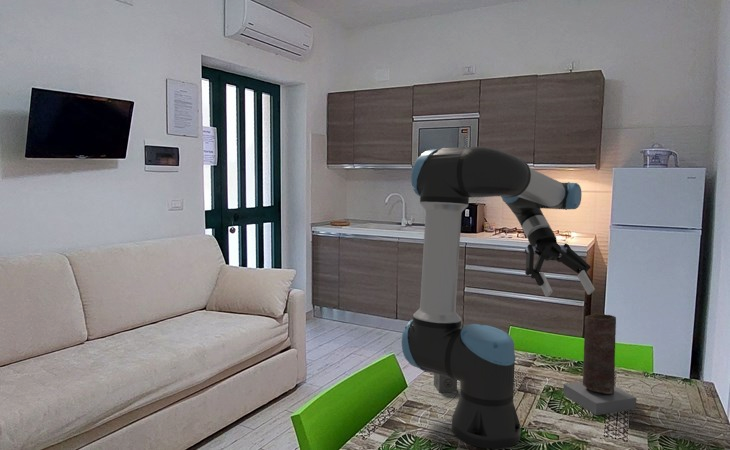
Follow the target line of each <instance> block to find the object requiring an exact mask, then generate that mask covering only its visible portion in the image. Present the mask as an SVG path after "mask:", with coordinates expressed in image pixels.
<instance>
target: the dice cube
mask: <svg viewBox="0 0 730 450" xmlns="http://www.w3.org/2000/svg"><path fill="white" fill-rule="evenodd" d="M433 386H434V387H435V388H436V390H437V392H438V393H451V392H458V380H455V379H452V378H448V377H445V376H442V375H438V374H435V373H433Z"/></svg>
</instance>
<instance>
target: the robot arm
mask: <svg viewBox="0 0 730 450" xmlns="http://www.w3.org/2000/svg"><path fill="white" fill-rule="evenodd" d="M410 180H411V181H410V182H411V186H412V188H413V189H412V190H413V192H414V193H415V194H416V195H417V196H419V204H420V205H421V206H422V207H423V209H424V210H425V216H424V217H425V218H424V234H423V235H424V236H423V251H422V252H423V253H422V270H421V283H420V284H421V285H420V301H419V308H418V309H417V310H416V311H415V312H413V315H412V319H410V320H409V321H408V322H407V323H406V324H405V326H404V328H405V329H404V330H403V331H402V334H401V350H402V353H403V356H404V359H405V361H407V362H408V364H410V365H411V366H412V367H415V368H417V369H420V370H422V371H424V372H427V373H432V374H434V373H435V374H438V375H442V376H445V377H448V378H452V379H455V380H457V382H460V385H459V387H460V388H459V389H460V390H459V393H460V394H459V398H458V401H457V403H456V406H455V409H454V413H453V414H452V418H451V430H452V433H453V435H454V436H455V437H456V438H457V439H459V440H460V441H462V442H464V443H466V444H468V445H470V446H473V447H475V448H481V449H486V450H487V449H488V450H503V449H506V448H510V447H513V446H515V445H516V444H518V443H519V442H520V440H521V433H522V432H521V430H522V427H521V426H522V425H521V423H520V420H519V416H518V414H517V413H518V412H517V409H516V407H515V403H514V390H515V389H514V387H515V385H514V384H515V362H516V355H515V354H516V352H515V342H514V339H513V338H512V337H511V336H510V334H508V333H507V332H506V331H504V330H502V329H500V328H497V327H494V326H491V325H487V324H486V325H485V324H478V323H472V324H466V325H464V326H463V327H462V317H461V316H460V315H459V314H458V312H456V309H457V308H456V306H457V305H456V304H457V295H458V294H457V292H458V276H459V259H460V258H459V257H460V245H461V230H462V229H461V227H462V213H463V211H465V210H466V209H467V208H468V207H469V202H470V201H469V199H470V198H490V197H491V198H492V197H493V198H494V197H501V199H502V201H503V202H504V203H505V204H506V206H507V207H508V208H509V209H510V210H511V212H512V213H513V214H514V216H515V217H516V219H517V221H518V222H519V224H520V227H521V228H522V231H523V232H524V234H525V236H526V238H527V241H528V243H529V244H528V245H527V246H526V247H525V249H524V252H525V275H526V276H530V278H531V279H533V280H535V282H536V284H537V286H540V289H541V290H542V292H543V295H544V296H545V298H549V297H550V295H551V294H552V293H553V289H552V287H551V285H550V283H549V281H548V279H547V277H546V275H545V273H544V271H541V268H542V267H543V265H544V261H546V262H547V261H548V262H549V261H557V262H558V263H562V264H563V265H564V266H566V267H568V268H569V269H571V270H572V271H574V272H575V273H577V278H578V280H579V282H580V283H581V285H582V287H583V290H584V291H585V293H586V295H587V296H588V295H591V294H592V293H593V292H594V291H595V290H596V288H595V286H594V285H593V283H592V281H591V280H592V279H591V277H590V275H589V274H588V271H589V270H590V269H591V265H590V264H588V262H587V261H585V260H584V259H583V258H582V257H581V256H580V255H579V254H577V253H576V252H575V251H574V250H573V249H572V248H571V247H570V246H569V244H568V243H564V245H560V244H559V243H558V242H557V236H556V234H555V233H554V231H553V229H552V228H551V225H550V224H549V221H548V220H547V218H546V217H545V215H544V214H543V211H542V209H549V210H550V209H551V210H565V211H567V210H577V209H578V208H579V207H580V205H581V203H582V188H581V185H580V184H579V183H577V182H570V181H568V182H561V181H559V180H556V179H555V178H552V177H550V176H547V175H546V174H544V173H542V172H539V171H537V170H535V169H533V168H532V167H530V165H529V164H528V163H527V162H526V161H525V160H523V159H522V158H520V157H518V156H516V155H513V154H512V153H511V154H510V153H508V152H505V151H503V150H498V149H495V148H491V147H486V146H470V147H468V146H466V147H465V146H464V147H442V148H441V147H440V148H436V149H435V148H434V149H427V150H425V151H424V152H422V153H421V154H420V155H419V156H418V157H417V158H416V160H415V162H414V163H413V167H412V170H411V176H410ZM535 254H536V255H538V257H537V260H536V263H535V265H534V261H535V260H534V259H535ZM560 255H561V256H560Z"/></svg>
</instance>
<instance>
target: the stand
mask: <svg viewBox="0 0 730 450" xmlns="http://www.w3.org/2000/svg"><path fill="white" fill-rule="evenodd" d="M562 392H563V393H562V395H563V396H565V397H566V398H567V399H568V400H569V399H570V401H572V402H574V404H577V405H579V406H581V407H582V408H583V409H584V410H587V411H588V412H590V413H592V414H593V415H594V416H600V415H606V414H613V413H621V412H627V411H635V410H636V409H637V397H636V396H633V395H632V394H630V393H628V392H626V391H624V390H622V389H620V388H619V387H616V386H615V385H614V394H605V393H601V392H596V391H592V390H589V389H588V388H586V387H585V386H584V385H583V381H578V382H576V381H575V382H568V383H563V390H562Z"/></svg>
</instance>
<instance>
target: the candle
mask: <svg viewBox="0 0 730 450" xmlns="http://www.w3.org/2000/svg"><path fill="white" fill-rule="evenodd" d="M616 328H617V317H616V316H615V315H611V314H605V313H600V312H593V313H592V314H589V315H586V316H584V339H583V340H584V341H583V342H584V343H583V344H584V345H583V361H582V362H583V363H582V364H583V366H582V369H583V370H582V382H583V385H584V386H585V387H586V388H588V389H589V390H592V391H596V392H601V393H605V394H614V386H615V371H616V370H615V369H616V333H617V332H616V331H617V330H616Z"/></svg>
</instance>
